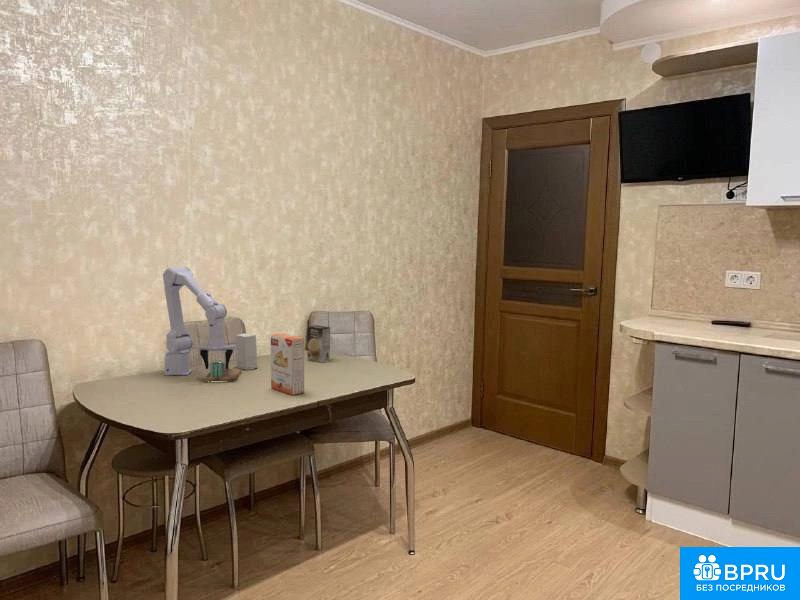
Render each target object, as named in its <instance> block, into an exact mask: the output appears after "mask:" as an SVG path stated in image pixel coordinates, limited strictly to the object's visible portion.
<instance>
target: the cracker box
mask: <svg viewBox="0 0 800 600" xmlns="http://www.w3.org/2000/svg"><path fill="white" fill-rule="evenodd" d="M270 388H271V389H273V390H276V391H279V392H282V393H285V394H287V395H290V396H295V395H299V394H304V393H305V338H303V337H300V336H295V335H291V334H287V333H275V334H270Z"/></svg>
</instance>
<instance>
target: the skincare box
mask: <svg viewBox="0 0 800 600" xmlns="http://www.w3.org/2000/svg"><path fill="white" fill-rule="evenodd" d="M235 346H236V350H235V351H236V352H235V353H236V368H237V367H239V368H238V369H241V368H242V370H244V369H245V371H248V370H256V369H255V368H257V369H258V354H257V353H258V352H257V334H251V333H239V334H235Z"/></svg>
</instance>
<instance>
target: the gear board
mask: <svg viewBox="0 0 800 600" xmlns="http://www.w3.org/2000/svg"><path fill="white" fill-rule="evenodd" d="M242 370H243V369H241V368H229V371H226V372H223V373H224V375H223V376H222V377H210V372H209V373H208V374H207V375H206V376H205V377H204V378H203V379H204V383H212V382H211V381H232V382H231V383H234V382H233V381H236V380H237V381H238V379H239V378H238V377H240V376H241V374H242V373H243V371H242ZM241 372H242V373H241ZM240 373H241V374H240ZM239 375H240V376H239ZM237 378H238V379H237ZM208 381H209V382H208ZM237 381H236V382H237Z"/></svg>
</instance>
